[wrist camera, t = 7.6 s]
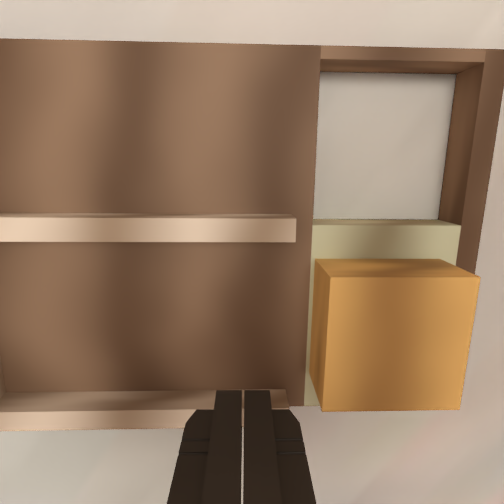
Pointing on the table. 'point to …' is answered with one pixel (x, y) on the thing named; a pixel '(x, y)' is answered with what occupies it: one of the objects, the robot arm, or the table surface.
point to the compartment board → (190, 220)
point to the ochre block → (390, 333)
